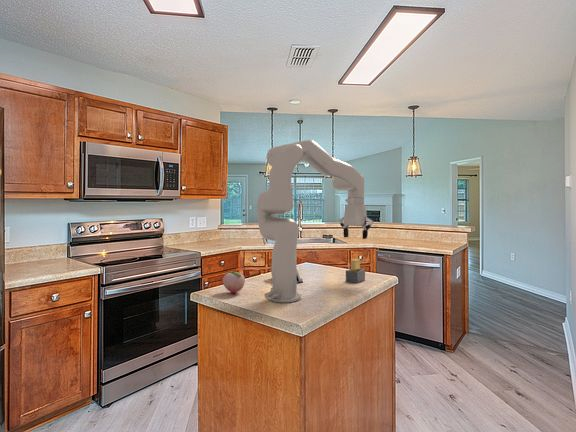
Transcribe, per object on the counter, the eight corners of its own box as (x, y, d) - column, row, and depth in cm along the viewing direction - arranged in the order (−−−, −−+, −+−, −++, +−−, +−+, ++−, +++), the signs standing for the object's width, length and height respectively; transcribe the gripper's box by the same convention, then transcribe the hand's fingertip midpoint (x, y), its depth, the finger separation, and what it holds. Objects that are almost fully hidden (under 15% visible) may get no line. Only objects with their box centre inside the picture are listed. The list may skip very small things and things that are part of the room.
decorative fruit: (249, 292, 141) (249, 268, 141) (237, 297, 134) (236, 272, 134) (232, 289, 146) (231, 266, 145) (219, 293, 139) (218, 269, 138)
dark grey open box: (357, 283, 156) (357, 272, 155) (345, 281, 159) (345, 270, 159) (365, 279, 162) (365, 269, 162) (353, 278, 166) (353, 267, 165)
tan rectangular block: (355, 281, 158) (355, 260, 157) (350, 281, 159) (350, 260, 159) (359, 280, 161) (359, 259, 161) (355, 279, 163) (355, 258, 162)
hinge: (303, 282, 157) (298, 263, 155) (297, 287, 154) (291, 268, 152) (279, 276, 170) (274, 258, 167) (273, 281, 167) (267, 263, 164)
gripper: (335, 201, 161) (335, 237, 162) (369, 201, 150) (368, 239, 151) (343, 201, 167) (343, 236, 168) (376, 201, 156) (375, 238, 157)
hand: (355, 237), depth 159 cm, fingers open, 9 cm apart
